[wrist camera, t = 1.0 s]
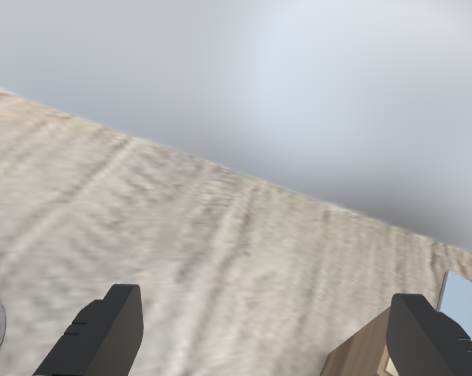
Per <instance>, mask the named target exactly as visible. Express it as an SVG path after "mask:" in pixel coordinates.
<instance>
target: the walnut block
mask: <svg viewBox="0 0 472 376" xmlns="http://www.w3.org/2000/svg"><path fill="white" fill-rule="evenodd" d="M390 308H391V306H390V307H389V308H387V309H386V310H385V311H383V312H382V313H381V314H380V315H378V316H377V317H376V318H375V319H373V320H372V321H371V322H369V323H368V324H367V325H366V326H364V327H363V328H362V329H360V330H359V331H358V332H357V333H355V334H354V335H353V336H351V337H350V338H349V339H348V340H346V341H345V342H344V343H342V344H341V345H340V346H339V347H337V348H336V349H335V350H334V351H332V352H331V353H330V354H329V356H328V358H327V360H326V363H325V365H324V367H323V370H322V372H321V374H320V376H399V375H398V373H397V371H396V369H395V367H394V364H393V362H392V360H391V358H390V356H389V354H388V350H387V345H386V331H387V325H388V320H389V314H390Z"/></svg>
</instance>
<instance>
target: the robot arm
mask: <svg viewBox="0 0 472 376" xmlns="http://www.w3.org/2000/svg"><path fill="white" fill-rule="evenodd" d="M5 322H6V317H5V313H4V308H3V306H2V304H1V302H0V345H1V343H2V340H3V336H4V332H5ZM143 328H144V325H143V314H142V303H141V293H140V287H139V285H135V284H114V285H113V286H112V287H111V288H110V290H109V291H108V293H107V294H106V296H105V297H104V299H103V300H94V301H93V302H91V303H90V304H89V305H87V306H86V307H84V308H83V309H82V310H81V311H80V312H79V313H78V315H77V316H76V317H75V319H74V320H73V321H72V325H70V326H69V327H68V328H67V330H66V331H65V332H64V335H63V336H61V338H60V339H59V340H58V342H57V343H56V344H55V346H54V347H53V348H52V350H51V351H50V352H49V354H48V355H47V356H46V358H45V359H44V360H43V362H42V363H41V364H40V366H39V367H38V369H37V370H36V371H35V373H34V374H33V375H32V376H128V374H129V371H130V369H131V366H132V364H133V362H134V359H135V357H136V355H137V352H138V350H139V348H140V345H141V342H142V337H143ZM386 345H387V350H388V354H389V356H390V358H391V360H392V362H393V364H394V367H395V369H396V371H397V373H398V375H399V376H472V341H471V338H470V337H469V335H468V334H467V333H466V332H465V331H464V329H463V328H462V327H461V326H460V325H459V324H458V323H457V322H456V321H454V320H453V319H451V318H450V317H448V316H447V315H446V314H444V313H443V312H436V311H435V310H434V308H433V307H432V306H431V304H430V303H429V302H428V301H427V299H426V298H425V297H424V296H423V295H421V294H401V293H396V294H394V295H393V297H392V302H391V308H390V314H389V320H388V325H387V331H386Z"/></svg>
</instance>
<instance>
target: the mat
mask: <svg viewBox="0 0 472 376" xmlns="http://www.w3.org/2000/svg"><path fill="white" fill-rule="evenodd" d="M437 312H443V313H444V314H446V315H447V316H448V317H450V318H451V319H453V320H454V321H456V322H457V323H458V324H459V325H460V326H461V327H462V328H463V329H464V331H465V332H466V333H467V334H468V335H469V337H470V338H471V341H472V283H471V282H470V281H468V280H466V279H464V278H463V277H461V276H459V275H457V274H456V273H454V272H452V271H450V270H448V271H447V272H446V273H445V278H444V282H443V286H442V290H441V295H440V299H439V303H438V307H437Z"/></svg>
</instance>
